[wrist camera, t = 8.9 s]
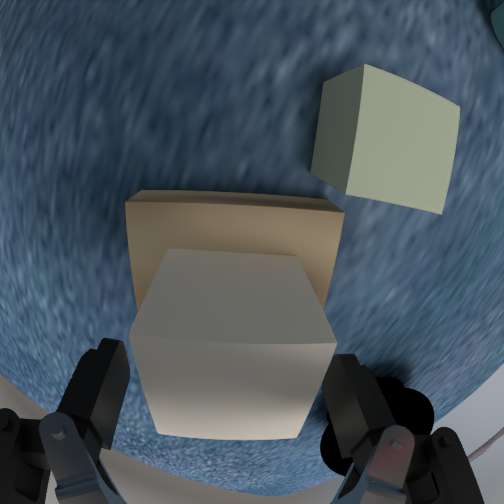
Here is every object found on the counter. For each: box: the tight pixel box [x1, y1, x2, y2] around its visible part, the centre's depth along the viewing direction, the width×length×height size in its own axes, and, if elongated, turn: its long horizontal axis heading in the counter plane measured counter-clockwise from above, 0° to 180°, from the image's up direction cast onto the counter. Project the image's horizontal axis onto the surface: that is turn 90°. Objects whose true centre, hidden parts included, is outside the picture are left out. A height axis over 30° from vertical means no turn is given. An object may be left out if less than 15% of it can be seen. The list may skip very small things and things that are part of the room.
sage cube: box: [310, 64, 460, 214], centre depth 11 cm, size 5×5×5 cm
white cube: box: [129, 248, 337, 440], centre depth 11 cm, size 6×6×6 cm
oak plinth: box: [125, 190, 345, 311], centre depth 15 cm, size 10×10×3 cm
